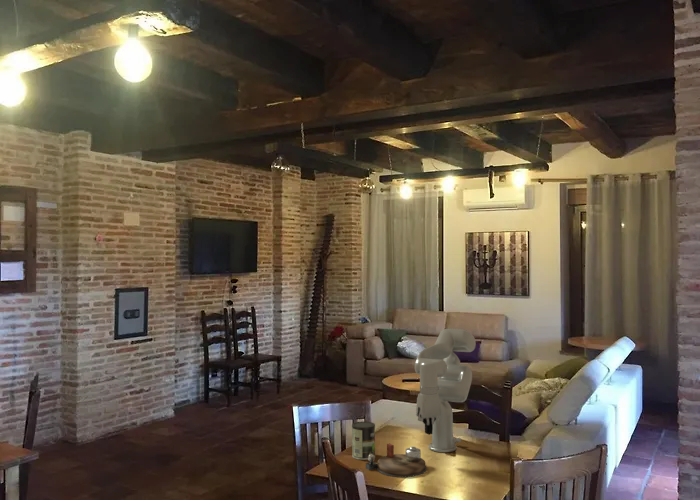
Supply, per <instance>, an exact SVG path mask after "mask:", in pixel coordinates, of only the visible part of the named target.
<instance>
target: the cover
mask: <svg viewBox="0 0 700 500" xmlns="http://www.w3.org/2000/svg"><path fill="white" fill-rule="evenodd" d="M405 454H406V461H409V462H419V461H421V458H422V457H421V456H422V452H421V449H420V448H418V447H416V446H410V447H407V448H405Z"/></svg>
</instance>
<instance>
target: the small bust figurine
mask: <svg viewBox="0 0 700 500" xmlns="http://www.w3.org/2000/svg"><path fill="white" fill-rule="evenodd" d="M375 459H376V455H375V456H374V455H373V454H370V455H369V456H368V462H366V463H365V469H366V470H368V471H372V470H377V464H378V462H375Z"/></svg>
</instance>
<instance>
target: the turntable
mask: <svg viewBox="0 0 700 500" xmlns="http://www.w3.org/2000/svg"><path fill="white" fill-rule="evenodd" d="M377 464H378V469H379V470H380V471H382V472H384V473H387V474H391V475H400V476H406V475H415V474H418V473H421V472H423V471H424V470H425V465H426V460H424V459H423V458H422V457H421V461H419V462H409V461H406V453H404V454H403V453H402V454H400V453H397V454H396V453H395V454H394V444H393V443H386V455H385V456H381V457H380V458H379V459H378V460H377Z"/></svg>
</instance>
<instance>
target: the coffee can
mask: <svg viewBox="0 0 700 500" xmlns="http://www.w3.org/2000/svg"><path fill="white" fill-rule="evenodd" d="M375 430H376V424H375V423H374V422H371V421H355V422H353V423H352V424H351V432H352V435H351V437H352V446H351V447H352V454H351V455H352V458H353V459H355V460H361V461H367V460H368V456H369V455H370V454H373V455H374V456H375V457H376V438H375V437H376V435H375V434H376V431H375ZM368 461H369V460H368Z"/></svg>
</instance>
